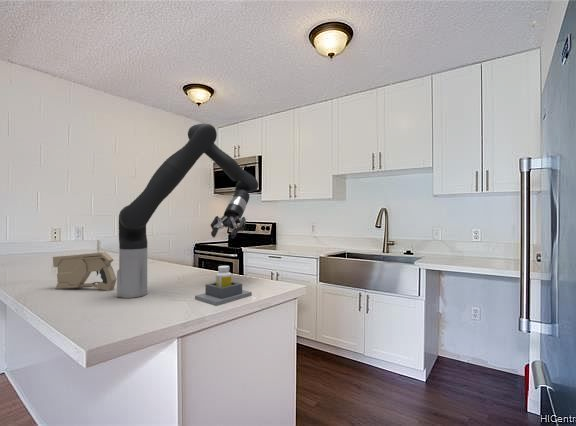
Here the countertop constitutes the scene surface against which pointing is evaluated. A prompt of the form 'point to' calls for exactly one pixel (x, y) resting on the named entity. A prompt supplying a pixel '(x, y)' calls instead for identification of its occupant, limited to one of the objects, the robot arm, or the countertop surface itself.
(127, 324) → the countertop surface
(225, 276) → the supplement bottle
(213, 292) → the gray socket holder
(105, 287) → the gun
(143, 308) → the countertop surface
